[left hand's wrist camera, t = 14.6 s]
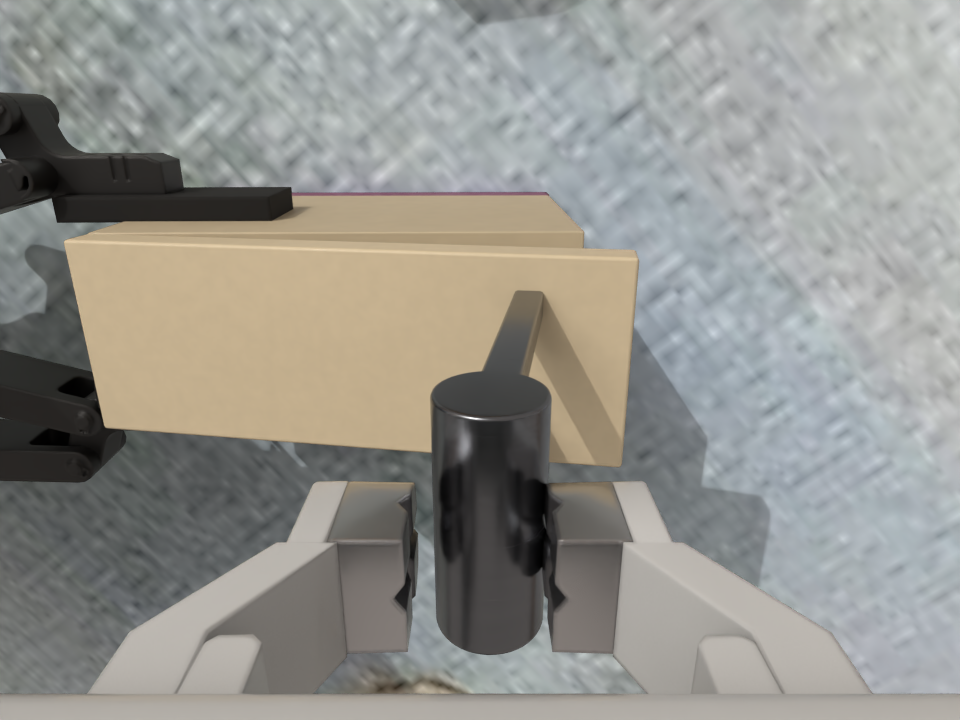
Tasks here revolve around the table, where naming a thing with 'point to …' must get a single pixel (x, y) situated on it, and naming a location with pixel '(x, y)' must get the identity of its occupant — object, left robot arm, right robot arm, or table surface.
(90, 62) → the table surface
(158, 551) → the table surface
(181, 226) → the chest
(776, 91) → the table surface
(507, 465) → the lid
